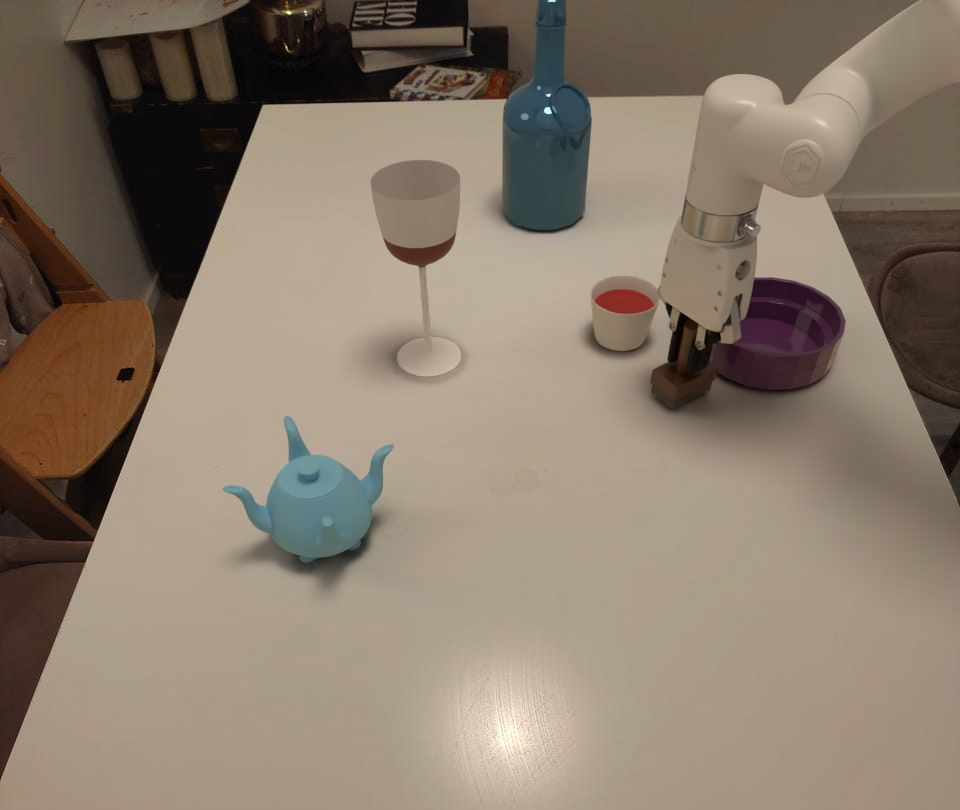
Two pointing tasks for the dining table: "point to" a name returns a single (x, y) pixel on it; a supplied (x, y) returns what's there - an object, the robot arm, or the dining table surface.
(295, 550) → the teapot
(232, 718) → the dining table surface
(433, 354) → the wineglass
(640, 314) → the candle
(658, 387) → the brush
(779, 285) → the bowl
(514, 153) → the wine bottle
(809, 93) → the robot arm
